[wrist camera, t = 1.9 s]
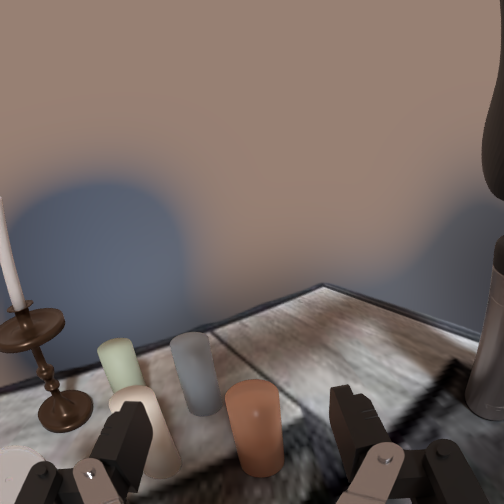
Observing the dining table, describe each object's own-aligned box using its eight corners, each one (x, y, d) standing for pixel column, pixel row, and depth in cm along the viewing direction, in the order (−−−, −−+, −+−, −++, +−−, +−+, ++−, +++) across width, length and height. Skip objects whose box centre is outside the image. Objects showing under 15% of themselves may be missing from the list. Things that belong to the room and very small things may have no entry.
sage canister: (140, 393, 40) (120, 334, 38) (159, 406, 37) (138, 345, 35) (116, 407, 37) (91, 348, 34) (133, 423, 34) (107, 361, 31)
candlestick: (103, 388, 41) (43, 151, 32) (93, 436, 31) (4, 145, 22) (46, 392, 39) (-18, 172, 30) (27, 436, 29) (-63, 173, 20)
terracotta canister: (258, 440, 31) (247, 373, 28) (293, 455, 28) (289, 388, 25) (231, 465, 27) (213, 400, 25) (267, 484, 24) (256, 420, 22)
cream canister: (163, 443, 31) (137, 379, 28) (190, 462, 28) (165, 398, 25) (134, 463, 27) (100, 400, 25) (159, 485, 24) (124, 423, 22)
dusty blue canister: (205, 389, 41) (190, 328, 38) (229, 401, 38) (216, 338, 35) (180, 406, 37) (162, 344, 35) (205, 421, 34) (187, 356, 32)
